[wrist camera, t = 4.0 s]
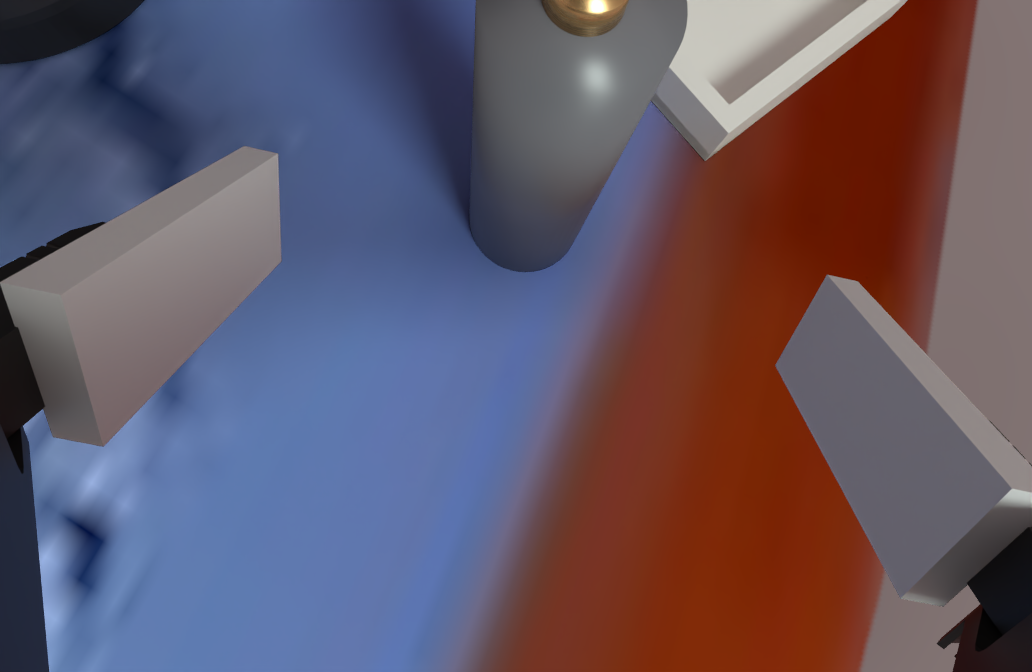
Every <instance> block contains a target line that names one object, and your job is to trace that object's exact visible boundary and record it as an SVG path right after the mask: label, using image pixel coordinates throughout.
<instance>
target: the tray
mask: <svg viewBox="0 0 1032 672" xmlns="http://www.w3.org/2000/svg"><path fill="white" fill-rule="evenodd" d="M906 1H907V0H687V9H688V17H687V26H686V30H685V34H684V38H683V40H682V43H681V45H680V47H679V49H678V51H677V53H676V55H675V57H674V59H673V60H672V62H671V64H670V66H669V68H668V70H667V71H666V73H665V75H664V77H663V79H662V81H661V82H660V84H659V86H658V88H657V90H656V92H655V93H654V95H653V97H652V99H651V101H652V102H653V103H654V104H655V105H656V106H657V108H658V109H659V110H660V111H661V112H662V113H663V114H664V116H665V117H666V118H667V119H668V120H669V121H670V122H671V123H672V125H673V126H674V127H675V128H676V129H677V130H678V131H679V132H680V134H681V135H682V136H683V137H684V138H685V139H686V140H687V141H688V143H689V144H690V145H691V146H692V147H693V148H694V149H695V150H696V152H697V153H698V154H699V155H700V156H701V157H702V158H703V159H704V161H706V160H707V159H708V158H710V157H711V156H712V155H714V154H715V153H716V152H717V151H719V150H720V149H721V148H723V147H724V146H725V145H726V144H728V143H729V142H730V141H732V140H733V139H734V138H735V137H737V136H738V135H739V134H741V133H742V132H743V131H744V130H746V129H747V128H748V127H750V126H751V125H752V124H754V123H755V122H756V121H757V120H759V119H760V118H761V117H763V116H764V115H765V114H766V113H768V112H769V111H770V110H772V109H773V108H774V107H775V106H777V105H778V104H779V103H781V102H782V101H783V100H784V99H786V98H787V97H788V96H790V95H791V94H792V93H794V92H795V91H796V90H797V89H799V88H800V87H801V86H803V85H804V84H805V83H806V82H808V81H809V80H810V79H812V78H813V77H814V76H815V75H817V74H818V73H819V72H821V71H822V70H823V69H824V68H826V67H827V66H828V65H830V64H831V63H832V62H834V61H835V60H836V59H837V58H839V57H840V56H841V55H843V54H844V53H845V52H846V51H848V50H849V49H850V48H852V47H853V46H854V45H855V44H857V43H858V42H859V41H861V40H862V39H863V38H865V37H866V36H867V35H868V34H870V33H871V32H872V31H874V30H875V29H876V28H877V27H879V26H880V25H881V24H883V23H884V22H885V21H886V20H888V19H889V18H890V17H891V16H892V15H893V14H894V13H895V12H896V11H897V10H898V9H899V8H900V7H901V6H902V5H903V4H904V3H905V2H906Z"/></svg>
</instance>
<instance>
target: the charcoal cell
mask: <svg viewBox="0 0 1032 672" xmlns="http://www.w3.org/2000/svg"><path fill="white" fill-rule="evenodd" d="M687 17H688V9H687V0H476V13H475V47H474V80H473V114H472V148H471V181H470V215H469V221H470V229H471V233H472V236H473V238H474V241H475V242H476V244H477V246H478V247H479V249H480V250H481V252H482V253H483V254H484V255H485V256H486V257H487V258H489V259H490V260H491V261H492V262H494V263H495V264H497V265H499V266H501V267H503V268H506V269H509V270H513V271H518V272H533V271H538V270H542V269H545V268H547V267H549V266H551V265H553V264H555V263H556V262H558V261H559V260H560V259H561V258H562V257H563V256H564V255H565V254H566V253H567V252H568V250H569V249H570V247H571V246H572V244H573V242H574V240H575V238H576V236H577V235H578V233H579V231H580V229H581V227H582V225H583V224H584V222H585V220H586V218H587V216H588V214H589V213H590V211H591V209H592V207H593V205H594V203H595V202H596V200H597V198H598V196H599V194H600V192H601V191H602V189H603V187H604V185H605V183H606V181H607V180H608V178H609V176H610V174H611V172H612V170H613V169H614V167H615V165H616V163H617V161H618V159H619V158H620V156H621V154H622V152H623V150H624V148H625V147H626V145H627V143H628V141H629V139H630V137H631V136H632V134H633V132H634V130H635V128H636V126H637V125H638V123H639V121H640V119H641V117H642V115H643V114H644V112H645V110H646V108H647V106H648V104H649V103H650V101H651V99H652V97H653V95H654V93H655V92H656V90H657V88H658V86H659V84H660V82H661V81H662V79H663V77H664V75H665V73H666V71H667V70H668V68H669V66H670V64H671V62H672V60H673V59H674V57H675V55H676V53H677V51H678V49H679V47H680V45H681V43H682V40H683V38H684V34H685V30H686V26H687Z"/></svg>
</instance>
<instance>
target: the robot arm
mask: <svg viewBox="0 0 1032 672" xmlns="http://www.w3.org/2000/svg"><path fill="white" fill-rule="evenodd" d="M143 1H144V0H0V64H7V63H17V62H24V61H30V60H36V59H40V58H44V57H49V56H52V55H55V54H59V53H62V52H65V51H67V50H70V49H73V48H75V47H78V46H80V45H82V44H85V43H87V42H89V41H91V40H93V39H95V38H96V37H98V36H100V35H102V34H103V33H105V32H107V31H108V30H110V29H111V28H113V27H114V26H116V25H117V24H119V23H120V22H121V21H122V20H124V19H125V18H126V17H127V16H129V15H130V14H131V13H132V12H133V11H134V10H135V9H136V8H137V7H138V6H139V5H140V4H141V3H142V2H143ZM280 262H281V234H280V201H279V169H278V153H273V152H269V151H264V150H260V149H255V148H251V147H246V146H243V147H242V148H240V149H238V150H236V151H234V152H233V153H231V154H229V155H227V156H225V157H224V158H222V159H220V160H218V161H216V162H215V163H213V164H211V165H209V166H207V167H206V168H204V169H202V170H200V171H199V172H197V173H195V174H193V175H191V176H190V177H188V178H186V179H184V180H182V181H181V182H179V183H177V184H175V185H173V186H172V187H170V188H168V189H166V190H164V191H163V192H161V193H159V194H157V195H155V196H154V197H152V198H150V199H148V200H147V201H145V202H143V203H141V204H139V205H138V206H136V207H134V208H132V209H130V210H129V211H127V212H125V213H123V214H121V215H120V216H118V217H116V218H114V219H112V220H111V221H109V222H107V223H105V222H100V223H97V224H93V225H89V226H85V227H82V228H78V229H74V230H70V231H69V232H67V233H65V234H63V235H61V236H59V237H57V238H55V239H53V240H52V241H50V242H48V243H47V245H46V247H45V246H40V247H38V248H37V249H35V250H33V251H31V252H29V253H27V256H26V257H20V258H18V259H16V260H14V261H12V262H10V263H8V264H7V265H5V266H3V267H1V268H0V672H49V665H48V654H47V642H46V631H45V620H44V608H43V597H42V586H41V574H40V563H39V552H38V541H37V529H36V518H35V507H34V495H33V484H32V473H31V461H30V450H29V441H28V439H27V436H26V434H25V431H24V428H23V425H24V424H25V423H26V422H28V421H29V420H30V419H31V418H32V417H34V416H35V415H36V414H37V413H38V412H39V411H41V410H42V409H44V412H45V415H46V418H47V421H48V424H49V427H50V430H51V433H52V435H53V437H56V438H61V439H66V440H71V441H76V442H82V443H87V444H92V445H97V446H103V447H104V446H105V444H106V443H107V442H108V441H109V440H110V439H111V438H112V437H113V436H114V435H115V434H116V433H117V432H118V431H119V430H120V429H121V428H122V427H123V426H124V425H125V424H126V423H127V422H128V421H129V419H130V418H131V417H132V416H133V415H134V414H135V413H136V412H137V411H138V410H139V409H140V408H141V407H142V406H143V405H144V404H145V403H146V402H147V401H148V400H149V399H150V398H151V397H152V396H153V394H154V393H155V392H156V391H157V390H158V389H159V388H160V387H161V386H162V385H163V384H164V383H165V382H166V381H167V380H168V379H169V378H170V377H171V376H172V375H173V374H174V373H175V372H176V371H177V369H178V368H179V367H180V366H181V365H182V364H183V363H184V362H185V361H186V360H187V359H188V358H189V357H190V356H191V355H192V354H193V353H194V352H195V351H196V350H197V349H198V348H199V347H200V346H201V344H202V343H203V342H204V341H205V340H206V339H207V338H208V337H209V336H210V335H211V334H212V333H213V332H214V331H215V330H216V329H217V328H218V327H219V326H220V325H221V324H222V323H223V322H224V321H225V319H226V318H227V317H228V316H229V315H230V314H231V313H232V312H233V311H234V310H235V309H236V308H237V307H238V306H239V305H240V304H241V303H242V302H243V301H244V300H245V299H246V298H247V297H248V296H249V294H250V293H251V292H252V291H253V290H254V289H255V288H256V287H257V286H258V285H259V284H260V283H261V282H262V281H263V280H264V279H265V278H266V277H267V276H268V275H269V274H270V273H271V272H272V271H273V269H274V268H275V267H276V266H277V265H278V264H279V263H280ZM775 366H776V368H777V369H778V371H779V373H780V375H781V377H782V379H783V381H784V383H785V384H786V386H787V388H788V390H789V392H790V394H791V396H792V397H793V399H794V401H795V403H796V405H797V407H798V409H799V410H800V412H801V414H802V416H803V418H804V420H805V422H806V424H807V425H808V427H809V429H810V431H811V433H812V435H813V437H814V438H815V440H816V442H817V444H818V446H819V448H820V450H821V451H822V453H823V455H824V457H825V459H826V461H827V463H828V465H829V466H830V468H831V470H832V472H833V474H834V476H835V478H836V479H837V481H838V483H839V485H840V487H841V489H842V491H843V492H844V494H845V496H846V498H847V500H848V502H849V504H850V506H851V507H852V509H853V511H854V513H855V515H856V517H857V519H858V520H859V522H860V524H861V526H862V528H863V530H864V532H865V533H866V535H867V537H868V539H869V541H870V543H871V545H872V547H873V548H874V550H875V552H876V554H877V556H878V558H879V560H880V561H881V563H882V565H883V567H884V569H885V571H886V573H887V574H888V576H889V578H890V580H891V582H892V584H893V586H894V587H895V589H896V591H897V593H898V595H899V597H900V598H901V599H906V600H911V601H916V602H921V603H927V604H932V605H937V606H945V605H946V604H947V603H948V602H949V601H950V600H951V599H952V598H954V597H955V596H956V595H957V594H958V593H959V592H960V591H961V590H962V589H963V588H965V587H966V586H967V585H968V586H969V587H970V589H971V590H972V592H973V593H974V594H975V596H976V598H977V599H978V601H979V602H980V605H979V606H978V607H977V608H976V609H974V610H973V611H972V612H971V613H970V614H969V615H967V616H966V617H965V618H964V619H963V620H962V621H960V622H959V623H958V624H957V625H956V626H955V627H953V628H952V629H951V630H950V631H949V632H948V633H946V634H945V635H944V636H943V637H942V638H941V639H940V641H939V642H938V643H937V644H938V645H939V646H940V647H942V648H943V649H945V648H946V647H947V646H948V645H949V644H951V643H959V648H958V652H957V654H956V655H955V657H956V660H955V664H954V668H953V672H1032V465H1031V464H1030V463H1029V462H1027V461H1026V460H1025V458H1024V456H1023V455H1022V454H1021V453H1020V452H1019V451H1018V450H1017V449H1016V448H1015V447H1014V446H1013V445H1011V444H1010V443H1009V440H1007V438H1006V437H1004V435H1003V434H1002V433H1001V432H1000V431H999V430H998V429H997V428H996V427H995V426H994V425H993V424H992V422H991V421H989V420H988V419H987V418H986V417H985V416H984V415H983V414H982V413H981V412H980V411H979V410H978V409H977V408H976V407H975V406H974V405H973V403H972V402H971V401H970V400H969V399H968V398H967V397H966V396H965V395H964V394H963V393H962V392H961V391H960V390H959V389H958V387H956V386H955V384H954V383H953V382H952V381H951V380H950V379H949V378H948V377H947V376H946V375H945V374H944V373H943V372H942V371H941V369H940V368H938V366H937V365H936V364H935V363H934V362H933V361H932V360H931V359H930V358H929V357H928V356H927V355H926V354H925V352H924V351H923V350H922V349H921V348H920V347H919V346H918V345H917V344H916V343H915V342H914V341H913V340H912V339H911V338H910V337H909V336H908V334H907V333H906V332H905V331H904V330H903V329H902V328H901V327H900V326H899V325H898V324H897V323H896V322H895V321H894V320H893V319H892V318H891V316H890V315H889V314H888V313H887V312H886V311H885V310H884V309H883V308H882V307H881V306H880V305H879V304H878V303H877V302H876V301H875V299H874V298H873V297H872V296H871V295H870V294H869V293H868V292H867V291H866V290H865V289H864V288H863V287H862V286H861V285H860V284H859V283H858V281H853V280H849V279H844V278H840V277H835V276H830V275H827V276H826V278H825V279H824V281H823V283H822V285H821V286H820V288H819V290H818V292H817V293H816V295H815V297H814V299H813V300H812V302H811V304H810V306H809V307H808V309H807V311H806V313H805V314H804V316H803V318H802V320H801V321H800V323H799V325H798V327H797V328H796V330H795V332H794V334H793V335H792V337H791V339H790V341H789V342H788V344H787V346H786V348H785V349H784V351H783V353H782V355H781V356H780V358H779V360H778V362H777V363H776V365H775Z"/></svg>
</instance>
